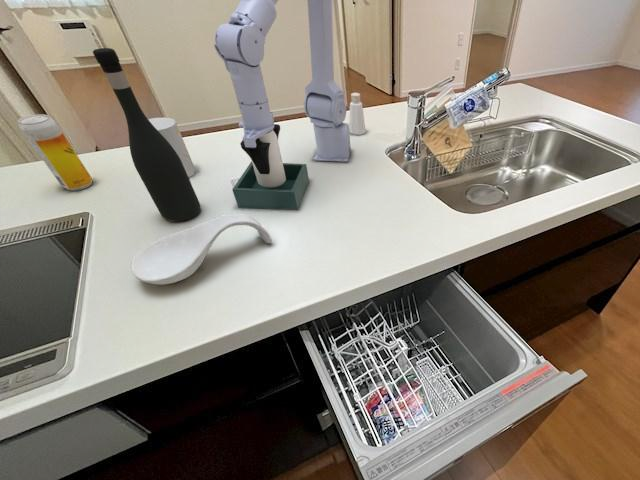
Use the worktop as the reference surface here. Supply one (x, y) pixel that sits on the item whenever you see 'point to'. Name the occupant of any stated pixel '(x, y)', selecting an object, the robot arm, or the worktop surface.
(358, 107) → the pepper shaker
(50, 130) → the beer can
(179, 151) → the cup
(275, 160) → the can
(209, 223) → the spoon rest
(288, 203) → the box
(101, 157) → the worktop surface
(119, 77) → the wine bottle
